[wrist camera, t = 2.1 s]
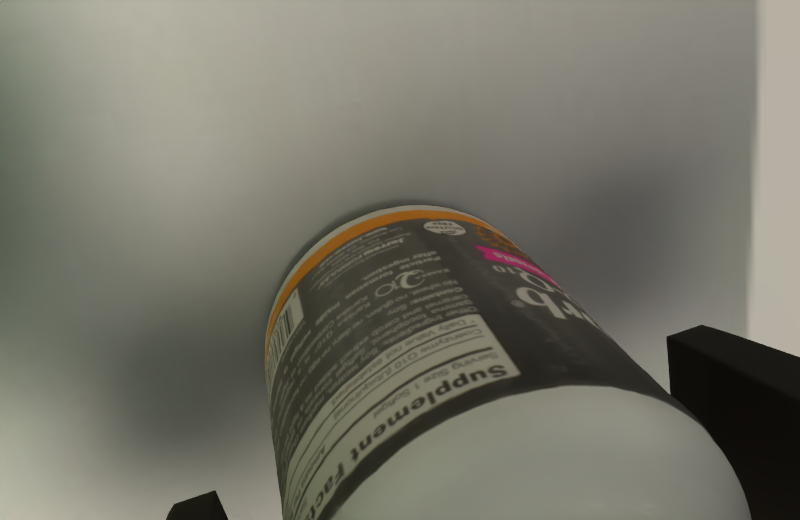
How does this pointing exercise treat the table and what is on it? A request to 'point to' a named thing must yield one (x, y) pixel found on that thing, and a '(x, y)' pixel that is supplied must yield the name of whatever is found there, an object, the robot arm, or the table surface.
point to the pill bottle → (467, 389)
